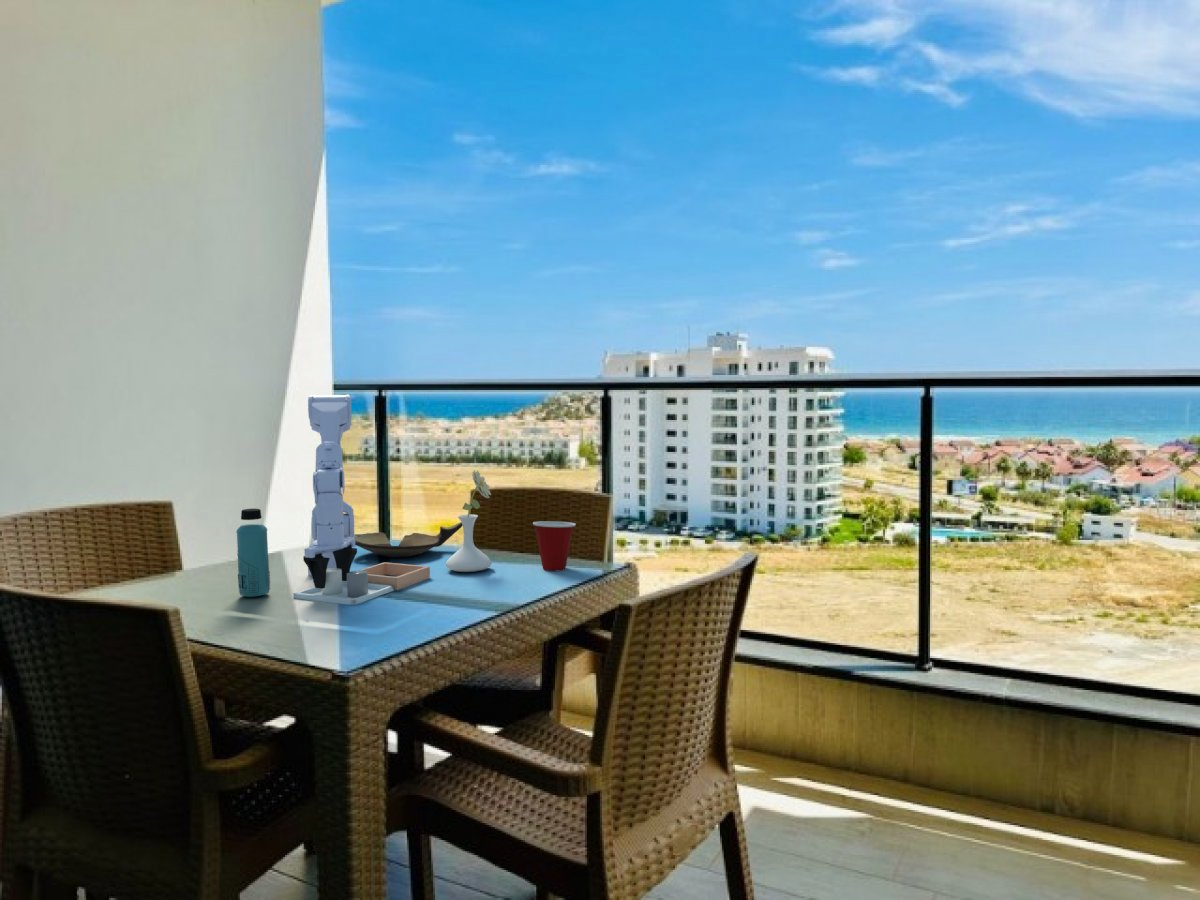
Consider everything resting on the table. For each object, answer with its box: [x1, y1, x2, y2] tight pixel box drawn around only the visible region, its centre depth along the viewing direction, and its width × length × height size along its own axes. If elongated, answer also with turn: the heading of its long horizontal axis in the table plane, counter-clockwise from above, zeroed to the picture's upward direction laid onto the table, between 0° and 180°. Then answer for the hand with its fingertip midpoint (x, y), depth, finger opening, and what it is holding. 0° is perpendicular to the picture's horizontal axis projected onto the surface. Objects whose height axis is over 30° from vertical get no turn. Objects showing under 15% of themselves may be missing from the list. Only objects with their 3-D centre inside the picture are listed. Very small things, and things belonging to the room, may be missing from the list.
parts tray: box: [292, 581, 395, 606], centre depth 195 cm, size 16×14×2 cm
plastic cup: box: [532, 520, 577, 572], centre depth 224 cm, size 11×11×12 cm
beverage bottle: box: [236, 508, 271, 597], centre depth 193 cm, size 6×7×20 cm
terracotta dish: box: [357, 562, 431, 591], centre depth 207 cm, size 13×13×4 cm
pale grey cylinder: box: [321, 568, 342, 595], centre depth 196 cm, size 4×4×5 cm
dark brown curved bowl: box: [353, 521, 463, 558], centre depth 242 cm, size 22×30×8 cm
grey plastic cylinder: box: [347, 570, 368, 598], centre depth 194 cm, size 4×4×5 cm
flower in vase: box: [445, 469, 492, 573], centre depth 222 cm, size 13×11×25 cm
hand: (331, 584), depth 196 cm, fingers open, 7 cm apart
